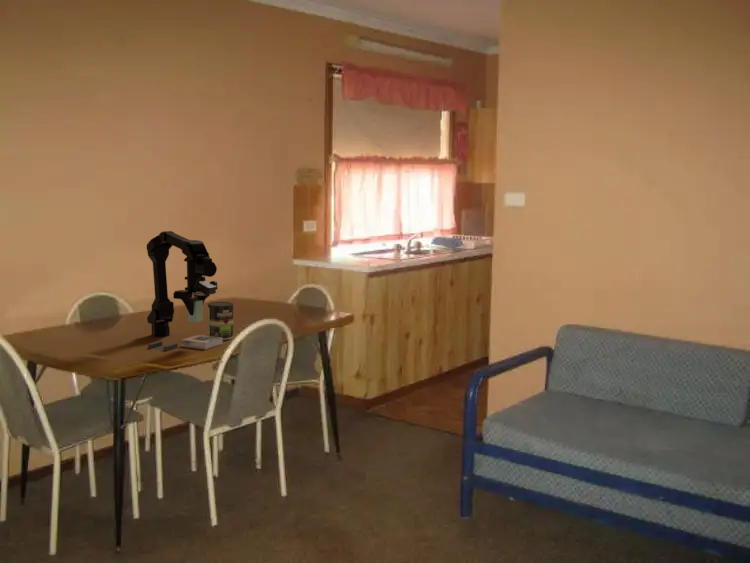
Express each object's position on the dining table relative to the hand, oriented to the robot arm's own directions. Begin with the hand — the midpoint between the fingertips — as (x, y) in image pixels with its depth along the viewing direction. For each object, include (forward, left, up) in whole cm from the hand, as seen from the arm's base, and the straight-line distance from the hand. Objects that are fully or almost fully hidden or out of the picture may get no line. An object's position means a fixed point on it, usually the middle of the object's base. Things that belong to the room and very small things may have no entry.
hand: (195, 314), depth 312 cm
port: (+1, +2, -13) cm, 13 cm away
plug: (0, 0, -3) cm, 3 cm away
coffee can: (-3, +20, -13) cm, 24 cm away
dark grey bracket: (-9, -9, -13) cm, 18 cm away
